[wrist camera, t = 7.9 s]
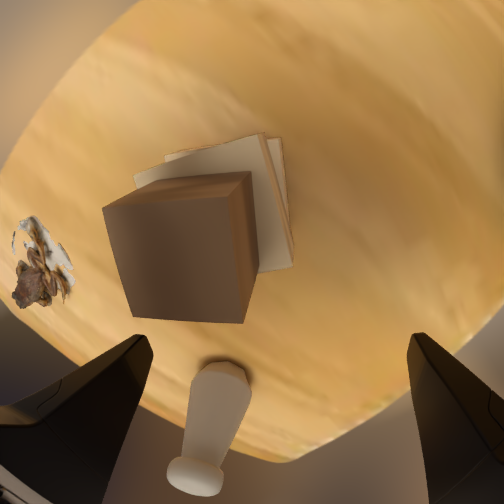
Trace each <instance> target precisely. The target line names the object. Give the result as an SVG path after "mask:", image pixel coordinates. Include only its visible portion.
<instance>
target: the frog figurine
mask: <svg viewBox="0 0 504 504" xmlns="http://www.w3.org/2000/svg"><path fill="white" fill-rule="evenodd" d="M20 229H22V230H24V231H27V233H28V234H29V236H30V237H31V239H32V240H33V241H34V242H33V241H31V242H30V243H29V244H28V243H27V242H25V241H24V242H23V243H24V246H25V245H26V246H25V247H26V249H27V257H28V260H29V262H30V264H31V265H32V267H30V268H29V267H28V266H27V265H26V264H25V263H24V262H23V261H22V260H19V261H18V266H17V268H16V274H17V276H18V281H17V283H18V285H17V287H16V289H15V291H14V292H13V293H12V298H13V299H15V300H16V304H17V305H18V306H19V307H20V309H21V308H23V309H24V308H26V307H27V306H30V305H31V304H32V303H33V302H37V303H39V304H40V305H42V306H43V307H45V306H50V305H51V304H52V299H51V297H50V296H49V294H47V293H46V292H45V291H44V288H45V286H46V288H47V289H48V291H49V292H50V294H51V295H52V296H56V295H57V290H58V289H60V290H61V292H62V297H63V304H64V299H66V297H65V295H66V294H69V292H70V288H71V287H72V286H73V285H74V284H75V279H74V278H73V276H72V275H70V274H69V273H68V271H67V269H66V268H68V269H70V270H73V266H72V264H71V261H70V259H69V257H68V255H67V253H66V252H65V250H64V249H63V248H62V246H61V245H60V244H59V243H58V246H55V244H54V241H53V240H51V239H50V236H49V231H48V230H47V229H46V228H44V227H43V225H42V224H41V222H40V221H39V220H38V218H37V217H36V216H30V217H27V218H26V219H24V220H22V221H20V226H18V230H20ZM14 236H15V231H14V234H13V241H12V249H13V254H14V255H15V246H14V241H15V238H14ZM55 264H58V265H59V266H62V265H64V266H65V267H66V268H64V269H63V275H62V276H59V275H58V274H57V272H55V271H54V268H55ZM43 291H44V292H43ZM42 293H43V295H42ZM41 295H42V298H41Z"/></svg>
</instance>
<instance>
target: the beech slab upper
mask: <svg viewBox="0 0 504 504" xmlns="http://www.w3.org/2000/svg"><path fill="white" fill-rule="evenodd" d="M242 171H251V174H252V185H253V196H254V207H255V218H256V229H257V241H258V252H259V264H260V266H259V269H258V273H263V272H269V271H274V270H280V269H285V268H291V267H293V256H294V242H293V237H292V233H291V229H290V225H289V221H288V217H287V214H286V210H285V206H284V202H283V198H282V194H281V190H280V187H279V183H278V179H277V175H276V172H275V168H274V164H273V161H272V157H271V154H270V150H269V146H268V143H267V139H266V136H265V132H263V133H259V134H256V135H252V136H248V137H245V138H241V139H238V140H234V141H231V142H227V143H224V144H221V145H217V146H214V147H211V148H208V149H204V150H201V151H198V152H195V153H192V154H189V155H186V156H183V157H180V158H178V159H175V160H172V161H169V162H166V163H163V164H161V165H158V166H155V167H153V168H150V169H148V170H145V171H142V172H140V173H137V174H135V175H133V178H134V180H135V183H136V186H137V189H139V188H141V187H143V186H145V185H147V184H149V183H151V182H153V181H156V180H160V179H168V178H177V177H186V176H195V175H205V174H216V173H228V172H242ZM258 273H257V274H258Z"/></svg>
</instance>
